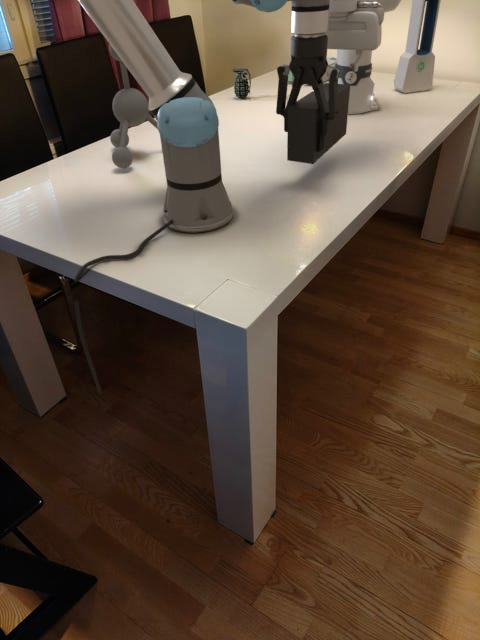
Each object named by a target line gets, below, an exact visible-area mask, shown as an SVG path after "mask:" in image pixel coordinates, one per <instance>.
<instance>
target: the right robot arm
mask: <svg viewBox="0 0 480 640" xmlns="http://www.w3.org/2000/svg"><path fill="white" fill-rule="evenodd" d="M401 2H402V0H330V4H329V25H328V31H327V32H326V33H325V35H327V37H328V45H327V50H336V54H337V55H336V58H337V63H336V64H335V68H337V67H339V68H340V70H341V71H340V75H339V78H338V84H348V85H350V94H349V106H348V115H357V114H363V113H368V112H371V111H377V110H379V106H378V104H377V100H376V99H375V98H374V97H375V93H374V92H375V91H374V90H375V82H374V81H373V80H372V78H371V75H372V71H373V63H372V55H373V51H375V50H377V49H378V48H379V47H381V44H382V35H383V34H382V31H383V30H382V29H383V27H382V24H383V22H384V20H385V14H386V13H390V12H392V11H395V10H396V9H397V7H398V6H399V5H400V3H401ZM312 91H314V90H313V89H312Z"/></svg>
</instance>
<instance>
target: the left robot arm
mask: <svg viewBox="0 0 480 640" xmlns="http://www.w3.org/2000/svg"><path fill="white" fill-rule="evenodd" d="M77 1H78V2H79V4H80V5H81V7H82V8H83V10H84V11H85V12H86V14H87V15H88V16H89V18H90V20H92V22H93V23H94V25H95V26H96V27H97V28H98V30H99V32H100V33H101V34H102V36H103V37H104V38H105V39H106V41H107V43H108V44H109V45H111V46H112V48H113V49H114V50H115V52H116V53H117V55H118V56H119V57H120V59H121V60H122V61H123V63H124V64H125V65H126V67H127V71H129V72H130V74H131V75H132V76H133V78H134V79H135V81H136V82H137V84H138V85H139V86H140V87H141V89H142V90H143V92H144V93H145V95H146V97H148V105H149V107H148V109H149V112H150V114H151V115H152V117H153V118H154V119H155V120H156V121H157V122H158V124H157V126H158V129H157V131H158V133H159V138H160V145H161V150H162V152H161V153H162V159H163V165H164V166H163V168H164V173H165V180H166V190H165V191H166V192H165V196H164V203H163V207H162V218H163V222H164V225H162V226H160V227H159V228H158V229H157V230H155V231H154V232H153V233H151V234H150V235H149V236H147V237H146V238H145V239H143V240H142V242H141V243H140V244H139V246H138V247H137V249H136V250H134V251H132V252H130V253H127V254H111V255H110V254H109V255H103V256H100V257H97V258H95V259H91V260H89V261H87V262H85V263H84V264H83V265H82V266H81V267H80V268H79V269H78V271H77V273H76V275H75V278H74V282H75V283H77V282H79V281H80V279H81V277H82V275H83V273H84V272H85V270H87V268H89V267H90V266H92V265H94V264H97V263H101V262H104V261H107V260H125V259H129V258H132V257H135V256H137V255H139V254H140V253H141V252H142V251H143V248H144V247H145V245H147V243H149V242H150V241H152V240H153V239H154V238H155V237H156V236H158V235H159V234H161V233H162V232H163V231H164V230H166V229H167V228H169V229H171V230H173V231H177V232H180V233H190V234H191V233H192V234H193V233H194V234H195V233H196V234H197V233H205V232H206V233H207V232H210V231H215V230H216V229H220V228H222V227H224V226H226V225H227V224H228V223H230V221H231V220H232V218H233V216H234V212H233V211H234V210H233V205H232V201H231V200H230V197H229V195H228V192H227V190H226V187H225V184H224V182H223V175H222V174H223V173H222V161H221V147H220V146H221V145H220V134H219V127H220V126H219V125H220V122H219V121H220V119H219V116H218V113H217V108H216V106H215V104H214V101H212V99H211V97H209V96H208V94H207V93H205V92H204V91H203V90H202V89H201V88H200V86H199V84H198V83H197V81H196V80H195V79H194V76H192V74H191V73H186V72H182V71H181V70H180V69H179V67H178V66H177V64H176V62H174V60H173V58H172V57H171V55H170V54H169V52H168V50H167V49H166V48H165V46H164V45H163V43H162V42H161V41H160V39H159V37H158V36H157V34H156V33H155V31H154V30H153V28H152V27H151V25H150V23H148V21H147V19H146V18H145V15H143V13H142V12H141V10H140V9H139V7H138V6H137V5H136V3H135V2H134V0H77ZM231 2H232V3H233V4H235V5H245V6H249V7H253V8H255V9H256V10H258V11H259V12H263V13H273V12H276V11H279V10H280V9H282V8H283V7H284V6H285V5H286V4H287V2H290V4H291V17H290V18H291V19H290V33H291V34H292V36H291V37H290V61H289V63H288V64H281V65H280V66H278V67H277V68H276V72H277V78H278V84H277V94H276V95H277V97H276V109H275V114H277V115H280V116H282V117H283V131H284V133H288V107H289V106H290V105H292V104H294V103H296V101H298V98H299V95H300V93H301V90H302V87H303V85H307V86H311V88H312V91H313V90H314V93H315V97H316V101H317V105H318V107H319V112H320V116H321V120H320V121H319V122H318V130H317V150H316V152H320V151H321V150H322V149H323V148H324V136H327V135H328V133H329V121H330V120H333V119H334V118H336V117H337V116H338V78H339V75H340V71H341V70H340V68H339V67H337V68H333V67H331V66H328V62H327V58H328V49H327V45H328V37H327V35H325V33H326V32H327V31H328V25H329V4H330V0H231ZM289 71H291V72H292V74H293V76H294V81H293V82H292V84H291V88H290V89H291V90H290V93H289V96H288V84H289V81H288V75H289ZM325 72H327V74H328V78H329V80H328V83H329V108H328V104H327V100H326V96H325V92H324V88H323V84H324V82H323V80H322V77H323V75H324V74H325ZM287 96H288V99H287ZM286 137H287V139H286V140H287V141H286V142H287V143H286V145H287V144H288V135H287V136H286ZM73 303H74V311H75V318H76V325H77V329H78V334H79V338H80V341H81V346H82V348H83V351H84V354H85V357H86V360H87V363H88V365H89V370H90V372H91V374H92V378H93V380H94V384H95V387H96V390H97V393H98V394H101V393H102V388H101V385H100V382H99V381H100V380H99V377H98V374H97V372H96V369H95V366H94V364H93V360H92V357H91V354H90V351H89V349H88V344H87V342H86V337H85V333H84V329H83V325H82V318H81V311H80V301H78V300H73Z"/></svg>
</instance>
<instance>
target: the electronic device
mask: <svg viewBox="0 0 480 640" xmlns="http://www.w3.org/2000/svg"><path fill="white" fill-rule="evenodd" d="M441 1H442V0H412V1H411V8H410V16H409V23H408V29H407V30H408V31H407V37H406V42H405V43H406V44H405V51H403V52H402V54H401V55H400V56H399V61H398V64H397V68H396V72H395V75H394V79H393V87H394V88H395V90H396V91H398V92H401V93H403V94H409V93H416V92H425V91H430V90H431V88H432V87H433V83H434V71H435V62H436V55H435V53H434V52H433V49H434V47H433V46H434V42H435V35H436V29H437V24H438V18H439V14H440V13H439V12H440V6H441Z"/></svg>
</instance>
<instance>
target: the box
mask: <svg viewBox="0 0 480 640" xmlns="http://www.w3.org/2000/svg"><path fill="white" fill-rule="evenodd" d="M323 88H324V92H325V96H326V100H327V104H328V108H329V82H324V83H323ZM349 94H350V85H348V84H338V116H337V117H336V118H334V119H333V120H330V121H329V133H328V135H327V136H324V148H323V149H322V150H321V151H320V152H316V150H317V130H318V122H319V121H320V120H321V116H320V112H319V107H318V105H317V101H316V97H315V93H314V91H313V90H312V91H310V92H309V93H308V94H307V93H306V95H305V96H303V97H301V98H299V99H297V101H296V103H294V104H292V105H290V106H289V107H288V132H287V136H288V144H287V143H286V145H287V146H286V147H287V152H286V153H287V154H286V155H287V156H286V158H287V159H286V160H287V161H288V162H296V163H303V164H309V165H314V164H315V163H317V161H319V160H320V159H321V158H322V157H323V156H324V155H325V154H327V152H329V150H330V149H332V148H333V147H334V146H335V145H336V144H338V142H339V141H341V139H342V138H344V137H345V136H346V135H347V129H348V117H349V114H348V106H349Z"/></svg>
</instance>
